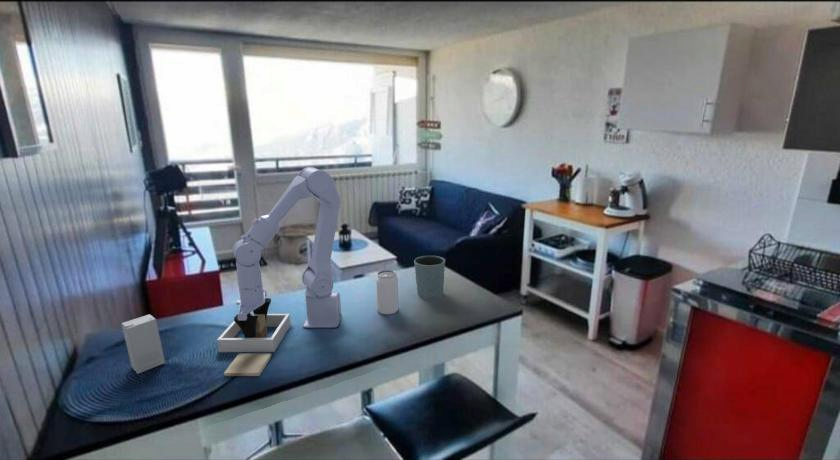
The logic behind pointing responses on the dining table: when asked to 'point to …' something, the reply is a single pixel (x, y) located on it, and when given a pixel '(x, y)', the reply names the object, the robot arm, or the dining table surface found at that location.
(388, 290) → the can
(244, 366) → the birch pad
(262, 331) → the oak block
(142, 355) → the skincare box
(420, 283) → the grey-green cup
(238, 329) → the white square frame
